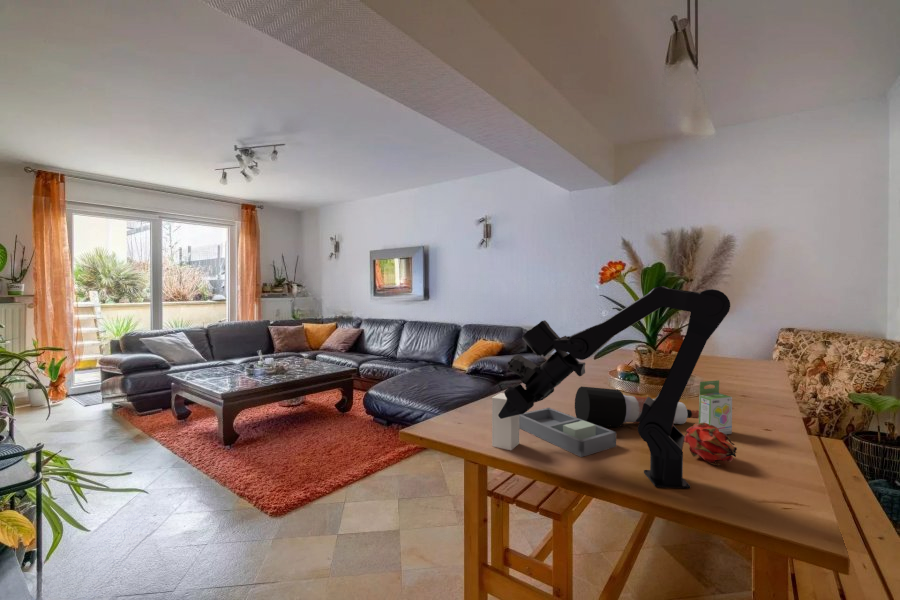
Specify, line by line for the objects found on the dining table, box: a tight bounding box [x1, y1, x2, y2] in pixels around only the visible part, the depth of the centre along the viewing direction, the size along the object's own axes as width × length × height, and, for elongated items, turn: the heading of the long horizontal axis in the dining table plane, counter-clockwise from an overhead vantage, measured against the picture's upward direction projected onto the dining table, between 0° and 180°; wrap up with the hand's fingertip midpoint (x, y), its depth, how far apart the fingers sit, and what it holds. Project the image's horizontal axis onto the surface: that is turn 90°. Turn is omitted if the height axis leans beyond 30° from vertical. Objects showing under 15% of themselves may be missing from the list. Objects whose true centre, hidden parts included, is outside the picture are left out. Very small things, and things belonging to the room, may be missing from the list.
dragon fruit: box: [684, 422, 738, 466], centre depth 90 cm, size 8×8×12 cm
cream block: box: [491, 392, 520, 451], centre depth 100 cm, size 5×5×12 cm
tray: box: [519, 407, 617, 458], centre depth 105 cm, size 23×12×4 cm, turn 30°
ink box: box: [698, 379, 733, 435], centre depth 106 cm, size 7×4×13 cm, turn 105°
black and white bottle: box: [574, 386, 699, 428], centre depth 114 cm, size 10×34×10 cm, turn 94°
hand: (507, 411), depth 99 cm, fingers open, 9 cm apart
